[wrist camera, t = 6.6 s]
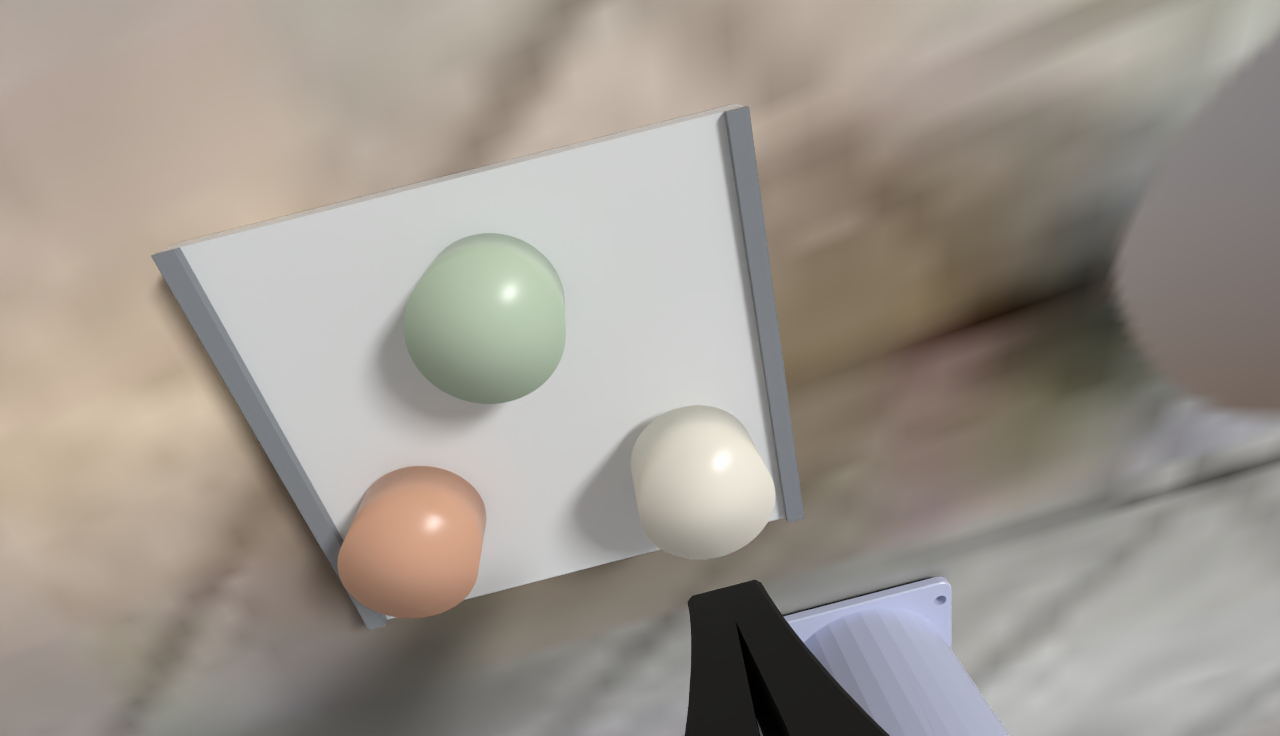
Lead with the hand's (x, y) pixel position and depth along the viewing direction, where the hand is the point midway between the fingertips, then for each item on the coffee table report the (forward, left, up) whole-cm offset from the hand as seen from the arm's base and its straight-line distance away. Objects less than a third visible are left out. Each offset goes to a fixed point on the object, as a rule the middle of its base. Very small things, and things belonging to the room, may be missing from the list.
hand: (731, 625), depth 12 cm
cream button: (-2, -1, -8) cm, 9 cm away
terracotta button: (-2, +8, -9) cm, 13 cm away
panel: (+1, +4, -10) cm, 11 cm away
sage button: (+4, +4, -9) cm, 11 cm away
